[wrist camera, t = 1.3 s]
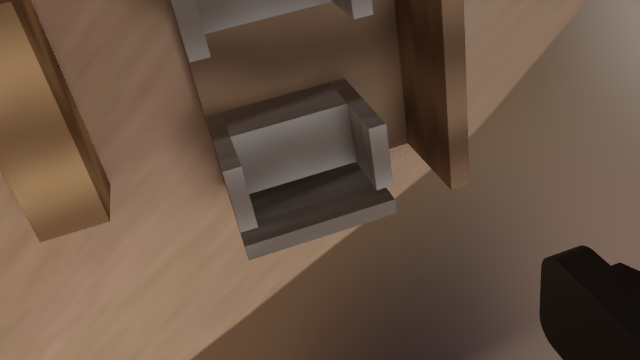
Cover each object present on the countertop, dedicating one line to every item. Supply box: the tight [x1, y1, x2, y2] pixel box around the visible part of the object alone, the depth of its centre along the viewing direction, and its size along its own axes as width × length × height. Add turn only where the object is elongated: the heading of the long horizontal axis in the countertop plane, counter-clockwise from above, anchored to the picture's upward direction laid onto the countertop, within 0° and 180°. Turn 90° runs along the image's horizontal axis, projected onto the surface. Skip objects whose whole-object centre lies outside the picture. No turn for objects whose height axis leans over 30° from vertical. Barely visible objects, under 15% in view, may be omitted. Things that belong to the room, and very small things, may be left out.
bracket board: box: [170, 0, 469, 260], centre depth 34 cm, size 18×14×8 cm
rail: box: [0, 0, 110, 242], centre depth 33 cm, size 13×4×4 cm, turn 10°
